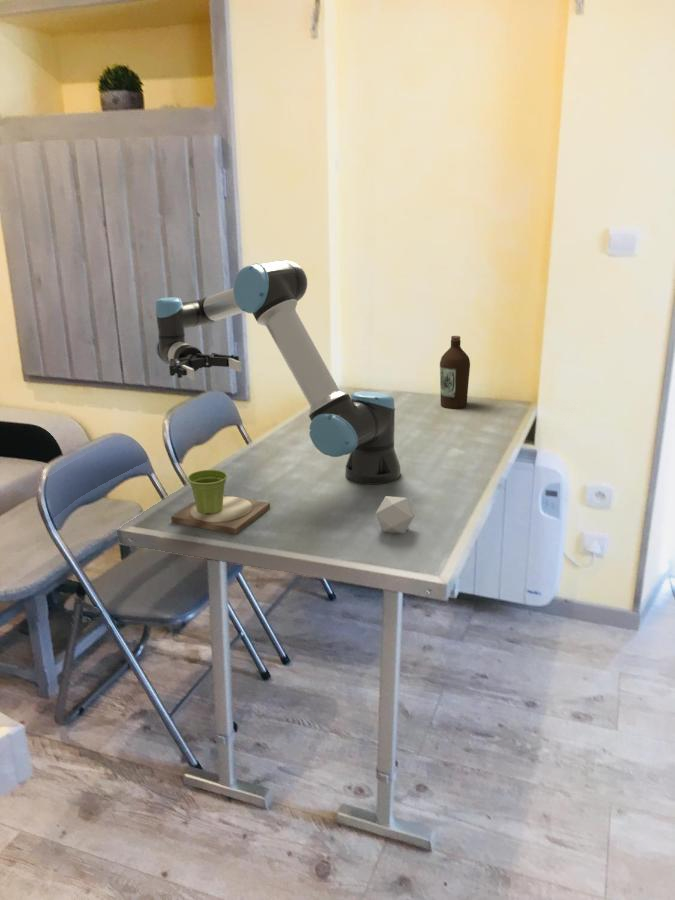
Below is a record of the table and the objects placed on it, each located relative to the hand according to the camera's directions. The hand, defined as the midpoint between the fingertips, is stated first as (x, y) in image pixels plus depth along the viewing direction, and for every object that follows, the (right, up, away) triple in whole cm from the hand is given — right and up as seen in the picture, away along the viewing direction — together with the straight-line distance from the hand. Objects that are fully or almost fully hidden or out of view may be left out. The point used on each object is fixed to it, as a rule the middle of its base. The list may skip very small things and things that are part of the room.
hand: (217, 370), depth 197 cm
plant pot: (+1, -35, -16) cm, 39 cm away
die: (+45, -40, -24) cm, 65 cm away
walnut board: (+3, -37, -14) cm, 40 cm away
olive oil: (+73, -5, +73) cm, 104 cm away
